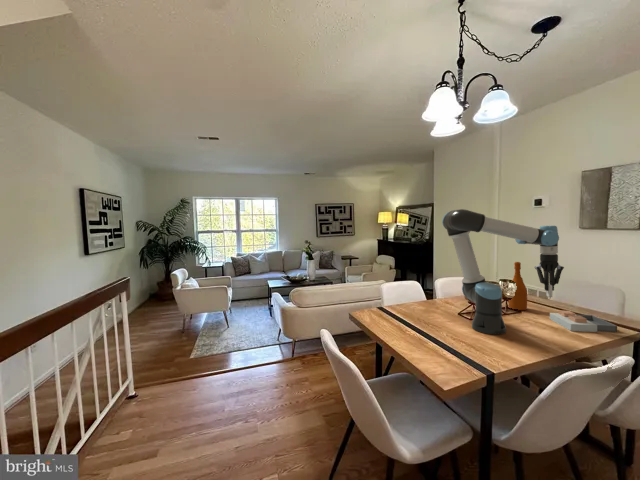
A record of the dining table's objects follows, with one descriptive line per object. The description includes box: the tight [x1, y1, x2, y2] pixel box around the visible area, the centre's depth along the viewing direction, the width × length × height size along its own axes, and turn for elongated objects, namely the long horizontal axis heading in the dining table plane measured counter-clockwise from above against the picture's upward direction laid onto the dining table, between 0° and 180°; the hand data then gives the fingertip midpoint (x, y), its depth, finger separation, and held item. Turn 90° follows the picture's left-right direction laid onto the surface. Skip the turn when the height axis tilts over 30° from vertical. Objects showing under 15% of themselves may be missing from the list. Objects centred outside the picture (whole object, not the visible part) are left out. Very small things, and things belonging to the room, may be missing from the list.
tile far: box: [558, 309, 576, 317], centre depth 149 cm, size 5×5×2 cm
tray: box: [576, 314, 618, 333], centre depth 143 cm, size 8×16×3 cm, turn 167°
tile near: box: [569, 315, 587, 323], centre depth 141 cm, size 5×5×2 cm
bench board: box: [549, 312, 598, 333], centre depth 144 cm, size 11×18×4 cm, turn 167°
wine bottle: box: [507, 261, 528, 311], centre depth 174 cm, size 10×10×30 cm
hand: (549, 296), depth 151 cm, fingers closed
